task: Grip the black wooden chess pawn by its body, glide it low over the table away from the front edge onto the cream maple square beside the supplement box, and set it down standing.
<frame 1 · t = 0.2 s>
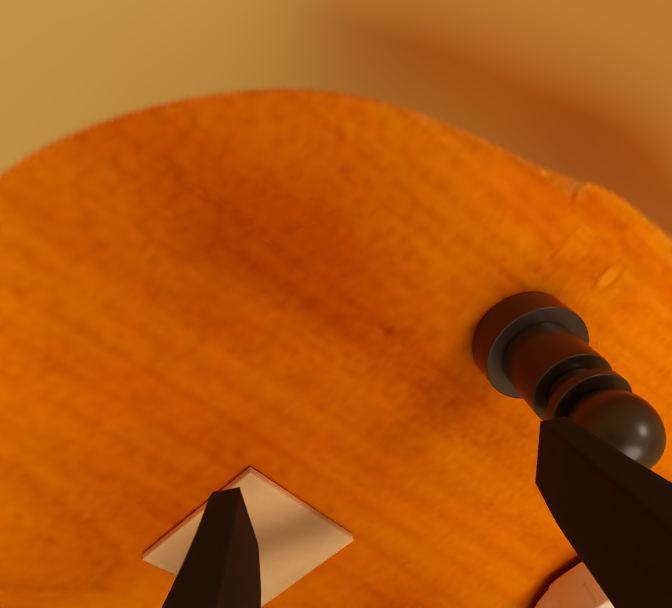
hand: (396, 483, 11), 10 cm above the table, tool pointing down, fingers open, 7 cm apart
chess pawn: (520, 337, 22), on the table
maple square: (251, 543, 26), on the table
tape roll: (622, 598, 34), on the table
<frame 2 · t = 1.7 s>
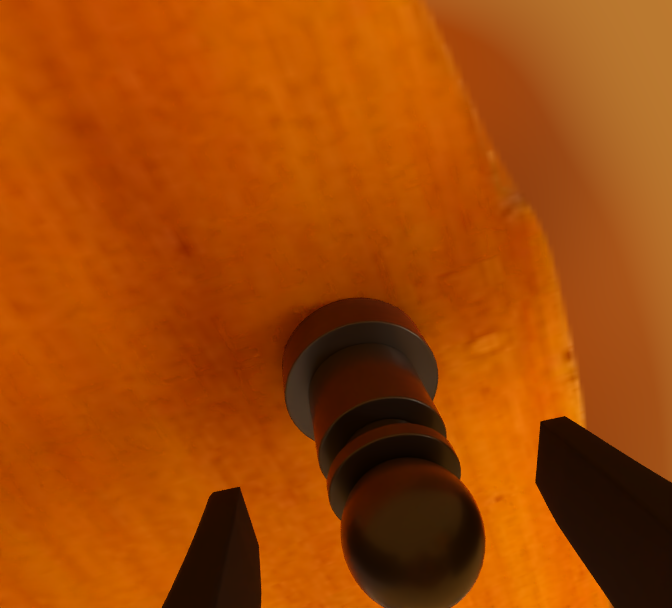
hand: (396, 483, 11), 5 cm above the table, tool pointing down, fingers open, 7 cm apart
chess pawn: (353, 361, 16), on the table
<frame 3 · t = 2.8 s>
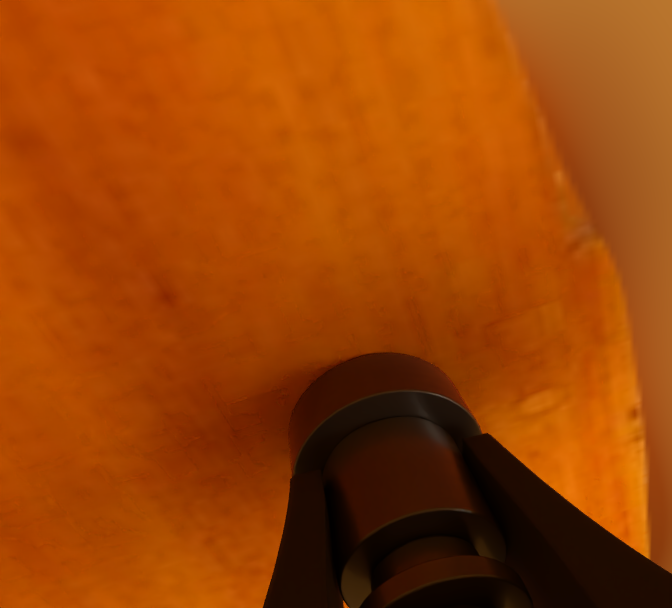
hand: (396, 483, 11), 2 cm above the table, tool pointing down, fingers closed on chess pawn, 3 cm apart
chess pawn: (376, 427, 13), on the table, touching gripper
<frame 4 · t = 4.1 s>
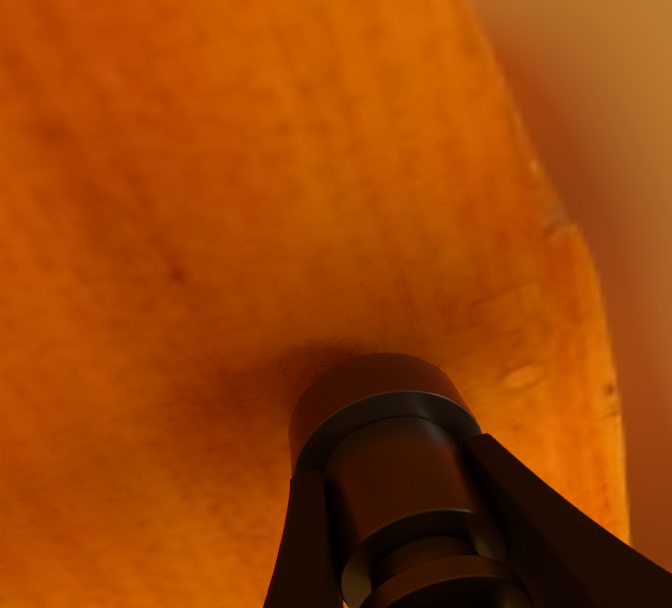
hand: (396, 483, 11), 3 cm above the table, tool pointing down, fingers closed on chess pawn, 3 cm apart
chess pawn: (376, 427, 13), point 1 cm above the table, touching gripper
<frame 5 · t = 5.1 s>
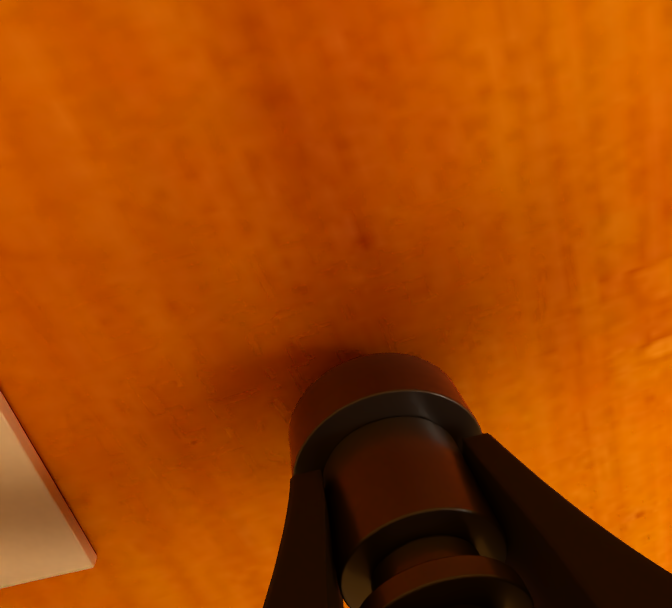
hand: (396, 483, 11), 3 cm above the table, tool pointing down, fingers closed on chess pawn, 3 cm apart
chess pawn: (376, 426, 13), point 1 cm above the table, touching gripper
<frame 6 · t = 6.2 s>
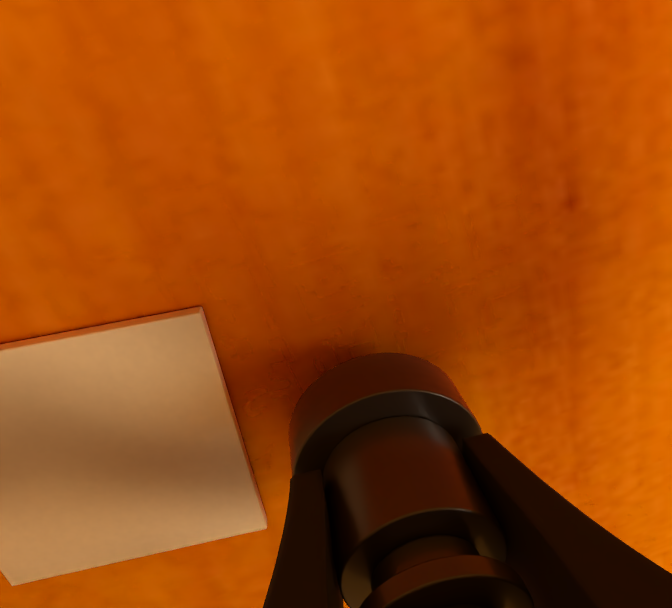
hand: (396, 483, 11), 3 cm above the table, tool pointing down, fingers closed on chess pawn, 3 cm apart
chess pawn: (376, 426, 13), point 1 cm above the table, touching gripper
maple square: (98, 455, 13), on the table
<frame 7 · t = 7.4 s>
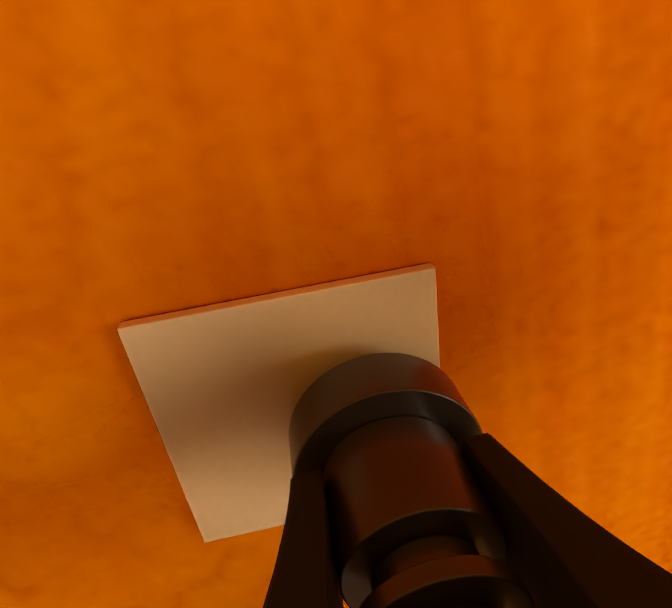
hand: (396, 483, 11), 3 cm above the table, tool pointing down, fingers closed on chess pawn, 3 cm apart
chess pawn: (376, 426, 13), point 1 cm above the table, touching gripper
maple square: (305, 412, 14), on the table
when the fingers open (2 cm above the table, at t = 8.7 s): chess pawn stays where it is, resting on maple square.
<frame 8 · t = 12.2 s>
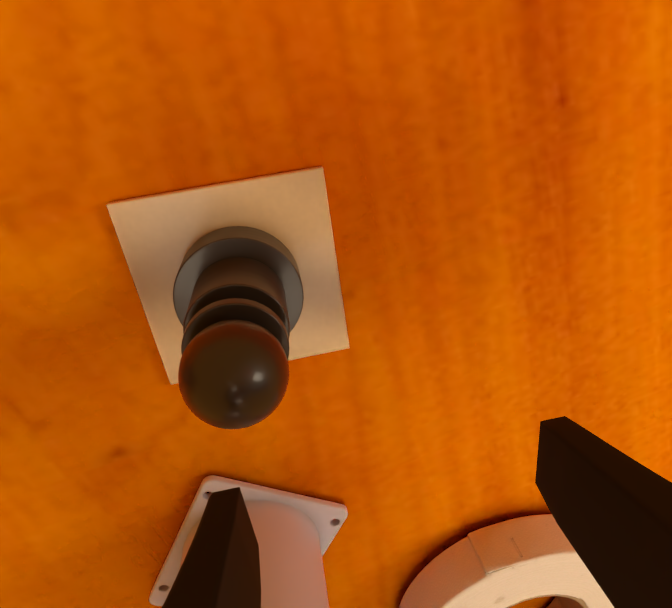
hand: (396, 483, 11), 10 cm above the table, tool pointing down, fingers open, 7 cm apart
chess pawn: (240, 283, 19), resting on maple square
maple square: (241, 280, 19), on the table
tape roll: (505, 591, 31), on the table
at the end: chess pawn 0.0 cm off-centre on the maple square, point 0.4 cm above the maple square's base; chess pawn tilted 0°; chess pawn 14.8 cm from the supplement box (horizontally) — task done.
